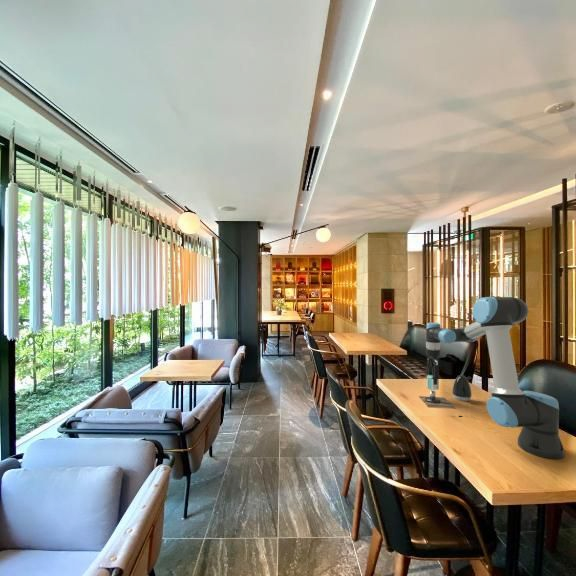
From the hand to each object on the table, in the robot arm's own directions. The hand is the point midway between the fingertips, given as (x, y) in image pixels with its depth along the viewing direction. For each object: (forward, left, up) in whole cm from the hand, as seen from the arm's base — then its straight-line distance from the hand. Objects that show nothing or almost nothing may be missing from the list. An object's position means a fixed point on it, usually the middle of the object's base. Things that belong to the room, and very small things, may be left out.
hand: (432, 387), depth 181 cm
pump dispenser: (+6, -19, -9) cm, 22 cm away
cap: (0, 0, 0) cm, 0 cm away
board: (-2, -2, -9) cm, 9 cm away
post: (0, 0, -8) cm, 8 cm away
